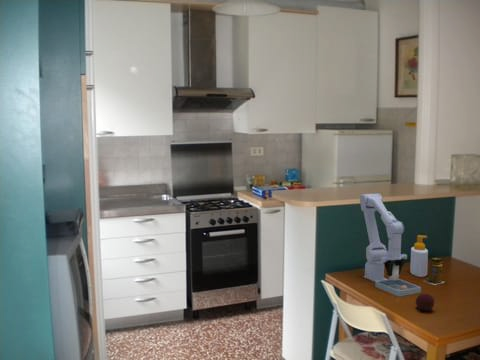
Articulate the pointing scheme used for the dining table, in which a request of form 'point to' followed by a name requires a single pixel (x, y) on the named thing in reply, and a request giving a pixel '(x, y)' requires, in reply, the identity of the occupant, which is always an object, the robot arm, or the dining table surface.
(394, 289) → the tray
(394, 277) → the shaker
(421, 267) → the soap bottle
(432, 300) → the dark purple sphere
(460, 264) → the dining table surface
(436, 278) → the condiment
